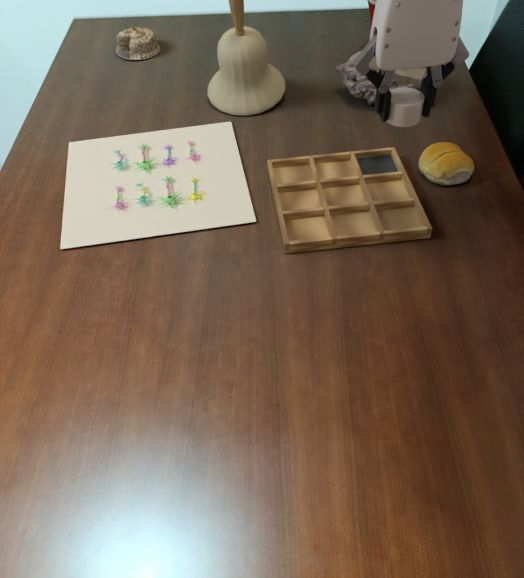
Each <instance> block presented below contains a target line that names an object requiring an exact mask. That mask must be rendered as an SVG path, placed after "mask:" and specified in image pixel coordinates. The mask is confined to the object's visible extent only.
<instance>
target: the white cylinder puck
mask: <svg viewBox="0 0 524 578" xmlns="http://www.w3.org/2000/svg"><path fill="white" fill-rule="evenodd" d="M390 92H391V94H392V96H391V104H390V111H389V118H388V120H387V122H386V123H387V124H389V125H390V126H394V127H397V128H411V127H414V126H416V125H418V124H419V123H420V122H421V120H422V117H423V115H422V111H423V105H424V100H425V97H424V94H423V93H422V92H420V89H418V90H416V89H413V88H407V87H402V88H396V89H393V90H391V91H390Z"/></svg>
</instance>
